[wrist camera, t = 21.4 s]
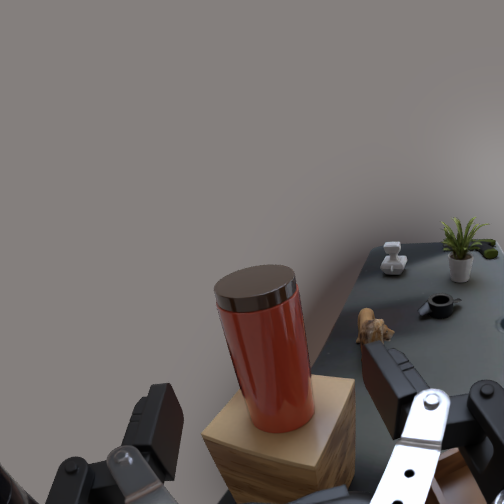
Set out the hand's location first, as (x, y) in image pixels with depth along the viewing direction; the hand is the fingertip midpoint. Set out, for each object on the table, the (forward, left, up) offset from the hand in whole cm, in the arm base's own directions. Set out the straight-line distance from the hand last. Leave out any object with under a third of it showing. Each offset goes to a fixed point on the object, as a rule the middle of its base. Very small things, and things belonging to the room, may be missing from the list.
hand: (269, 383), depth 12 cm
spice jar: (+3, +9, -11) cm, 15 cm away
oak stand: (+3, +9, -28) cm, 29 cm away
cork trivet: (+3, +9, -12) cm, 15 cm away
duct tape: (+47, +29, -28) cm, 62 cm away
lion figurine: (+28, +30, -28) cm, 49 cm away
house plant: (+65, +35, -28) cm, 79 cm away
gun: (+83, +45, -28) cm, 98 cm away
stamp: (+55, +53, -28) cm, 81 cm away
